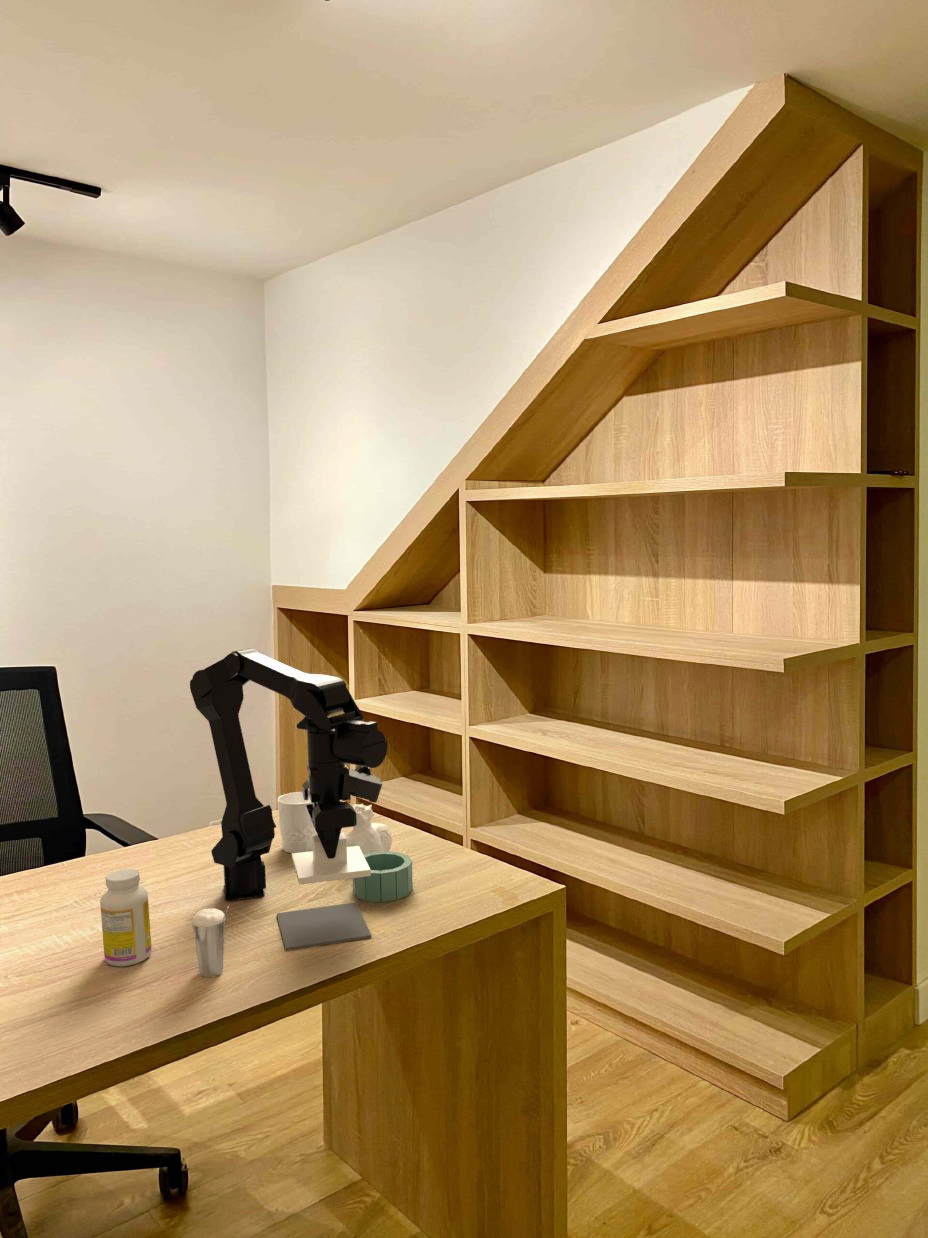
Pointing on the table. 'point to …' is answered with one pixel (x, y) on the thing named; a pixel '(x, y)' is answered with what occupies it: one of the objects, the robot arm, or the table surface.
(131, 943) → the supplement bottle
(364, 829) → the bust
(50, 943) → the table surface
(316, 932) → the mat
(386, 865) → the bowl
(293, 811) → the white cup
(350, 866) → the lid
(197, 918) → the milkshake
